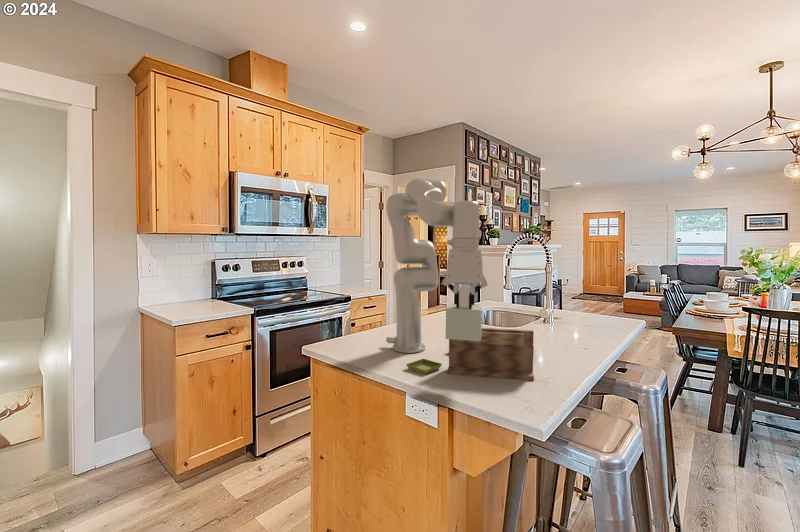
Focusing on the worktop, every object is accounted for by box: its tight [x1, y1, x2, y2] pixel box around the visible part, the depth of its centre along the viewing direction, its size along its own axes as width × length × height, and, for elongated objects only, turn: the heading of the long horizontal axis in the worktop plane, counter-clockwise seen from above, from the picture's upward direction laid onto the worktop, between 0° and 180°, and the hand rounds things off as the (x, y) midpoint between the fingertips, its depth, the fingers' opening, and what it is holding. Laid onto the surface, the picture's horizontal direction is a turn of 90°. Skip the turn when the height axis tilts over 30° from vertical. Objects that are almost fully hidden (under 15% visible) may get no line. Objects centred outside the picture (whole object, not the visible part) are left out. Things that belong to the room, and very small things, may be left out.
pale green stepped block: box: [445, 286, 483, 341], centre depth 118 cm, size 10×9×15 cm
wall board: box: [446, 327, 535, 381], centre depth 125 cm, size 26×6×14 cm, turn 76°
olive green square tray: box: [405, 358, 443, 375], centre depth 130 cm, size 9×9×2 cm
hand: (464, 306), depth 116 cm, fingers closed on pale green stepped block, 3 cm apart
